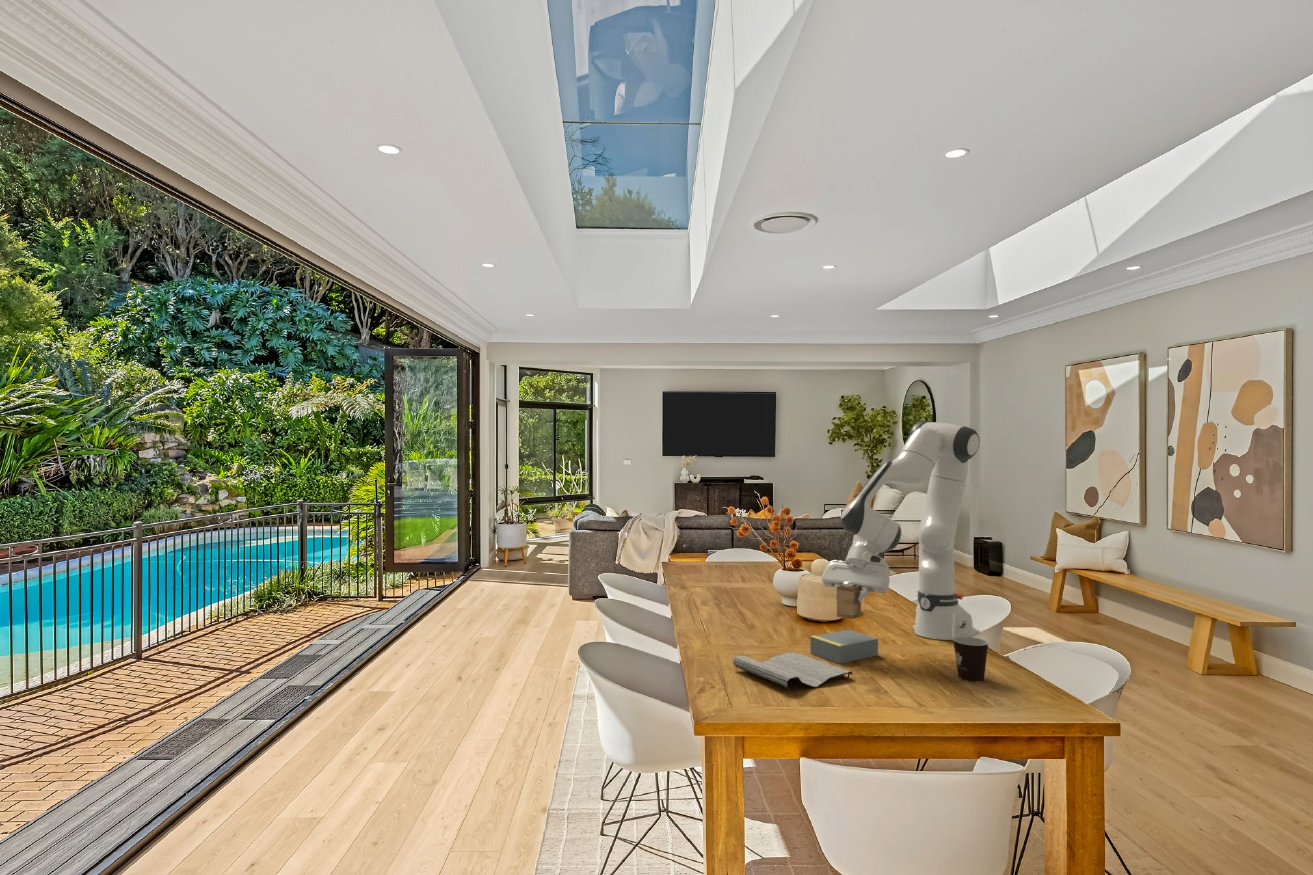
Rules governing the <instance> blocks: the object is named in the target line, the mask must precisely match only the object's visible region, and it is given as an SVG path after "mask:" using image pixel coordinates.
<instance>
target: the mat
mask: <svg viewBox="0 0 1313 875" xmlns="http://www.w3.org/2000/svg"><path fill="white" fill-rule="evenodd" d="M732 663H733V665H734V667H736V668H737V669H740V670H743V671H745V672H748V673H750V674H752V675H754V676H758V677H760V678H764V679H765V680H768V681H770V682H772V683H775V684H777V685H781V686H782V687H784V689H785V692H786V693H788V690H787V688H788V686H789V684H788V683H789V681H790V680H795V681H797V682H798V683H801V684H803V685H805V686H807V687H811V688H819V687H821V686H822V685H823V684H825V683H827V682H829V680H831V679H835V678H839V677H841V676H845V675H847V678H848V679H850V675H853V672H852V671H850V670H848V669H844V668H841V667H839V666H837V665H832V664H830V663H827V662H824V661H822V660H821V661H820V660H817V659H815V658H814V657H813V658H812V657H810V656H806V655H804V654H800V653H798V652H795V651H791V652H786V653H782V654H778V655H777V654H776V655H774V656H772V657H770V658H769V659H767V660H765V661H763V662H762V661H758V660H755V659H753V658H751V657H748V656H745V655H736V656H734V657H733V660H732Z"/></svg>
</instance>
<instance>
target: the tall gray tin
mask: <svg viewBox="0 0 1313 875" xmlns="http://www.w3.org/2000/svg"><path fill="white" fill-rule="evenodd" d="M861 592H862V591H861V586H856V585H854V587H852V588H848V587H843V584H842V585H839V586H837V599H836V617H837V618H843V619H849V620H854V619H856V618H858V617H861V616H862V603H860V602H856V595H857V594H860V593H861Z"/></svg>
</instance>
